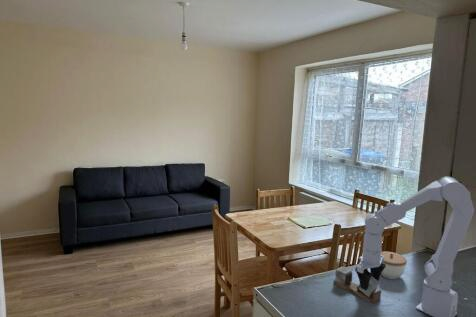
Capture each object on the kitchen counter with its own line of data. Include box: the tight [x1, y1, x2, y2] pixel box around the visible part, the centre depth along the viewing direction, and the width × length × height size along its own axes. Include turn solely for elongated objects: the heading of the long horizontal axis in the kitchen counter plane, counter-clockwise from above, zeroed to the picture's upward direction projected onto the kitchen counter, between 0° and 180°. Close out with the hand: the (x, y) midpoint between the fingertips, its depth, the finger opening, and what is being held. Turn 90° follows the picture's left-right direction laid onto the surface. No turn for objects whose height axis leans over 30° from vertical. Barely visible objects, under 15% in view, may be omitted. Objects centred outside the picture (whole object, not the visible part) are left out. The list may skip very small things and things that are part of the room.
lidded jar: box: [381, 250, 408, 280], centre depth 127 cm, size 11×11×9 cm
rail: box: [333, 266, 382, 304], centre depth 115 cm, size 16×4×6 cm, turn 38°
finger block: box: [358, 276, 381, 297], centre depth 112 cm, size 4×4×5 cm
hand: (369, 285), depth 112 cm, fingers open, 6 cm apart
